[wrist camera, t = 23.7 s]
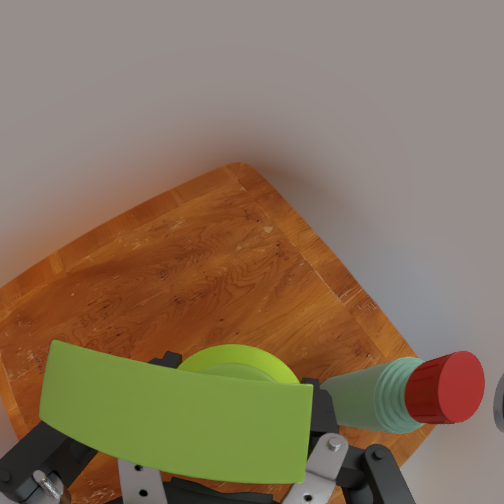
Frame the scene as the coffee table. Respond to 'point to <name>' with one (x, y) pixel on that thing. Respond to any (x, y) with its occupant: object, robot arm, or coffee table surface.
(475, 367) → the cap
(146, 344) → the coffee table surface
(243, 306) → the coffee table surface
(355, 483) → the robot arm
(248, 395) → the soap dispenser
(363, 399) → the bottle
